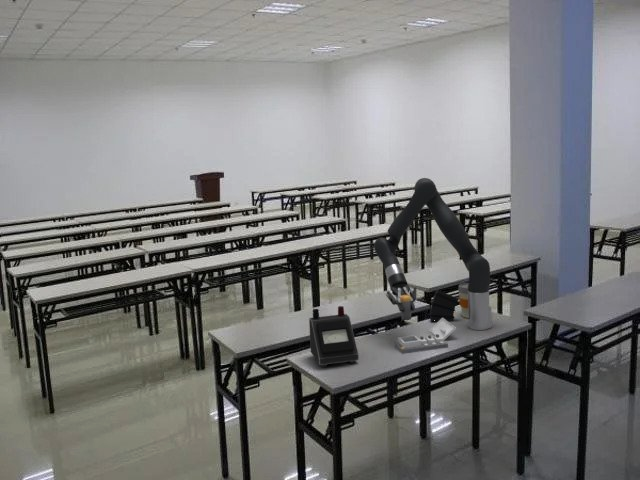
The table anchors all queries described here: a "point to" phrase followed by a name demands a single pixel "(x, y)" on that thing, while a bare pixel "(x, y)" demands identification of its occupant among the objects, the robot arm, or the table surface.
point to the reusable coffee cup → (464, 299)
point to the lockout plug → (406, 307)
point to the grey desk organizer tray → (419, 343)
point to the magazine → (442, 306)
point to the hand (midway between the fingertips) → (408, 310)
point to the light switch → (443, 328)
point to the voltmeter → (332, 338)
